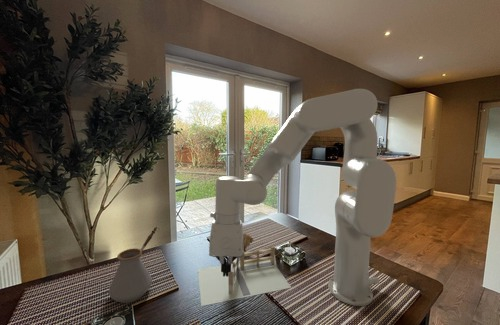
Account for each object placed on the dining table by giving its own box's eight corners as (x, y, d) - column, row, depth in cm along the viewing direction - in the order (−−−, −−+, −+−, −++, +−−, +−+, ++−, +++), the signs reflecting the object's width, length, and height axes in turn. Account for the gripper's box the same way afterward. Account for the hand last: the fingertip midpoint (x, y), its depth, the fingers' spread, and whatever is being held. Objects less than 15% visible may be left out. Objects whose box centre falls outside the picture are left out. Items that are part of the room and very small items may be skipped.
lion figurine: (254, 255, 88) (255, 234, 87) (244, 259, 85) (244, 237, 84) (235, 241, 100) (235, 222, 99) (225, 244, 97) (225, 225, 96)
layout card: (270, 259, 85) (270, 257, 85) (291, 288, 68) (291, 287, 68) (197, 270, 77) (197, 268, 77) (201, 307, 60) (201, 305, 60)
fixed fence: (273, 262, 82) (273, 246, 81) (274, 264, 81) (274, 247, 80) (239, 268, 78) (239, 250, 78) (240, 269, 77) (240, 252, 77)
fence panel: (235, 267, 78) (235, 250, 77) (238, 267, 78) (238, 250, 77) (228, 294, 64) (228, 274, 63) (232, 294, 64) (232, 274, 63)
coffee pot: (137, 310, 59) (135, 258, 58) (99, 306, 61) (95, 255, 59) (173, 265, 80) (172, 226, 79) (144, 263, 82) (142, 225, 80)
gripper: (200, 220, 62) (199, 280, 64) (252, 222, 62) (249, 282, 64) (205, 212, 69) (204, 266, 71) (251, 213, 69) (249, 267, 71)
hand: (225, 273), depth 67 cm, fingers closed
